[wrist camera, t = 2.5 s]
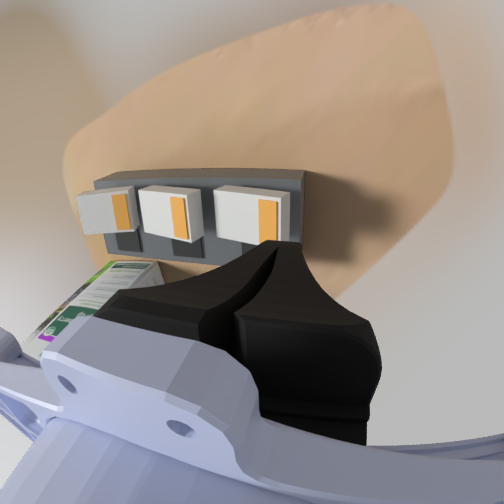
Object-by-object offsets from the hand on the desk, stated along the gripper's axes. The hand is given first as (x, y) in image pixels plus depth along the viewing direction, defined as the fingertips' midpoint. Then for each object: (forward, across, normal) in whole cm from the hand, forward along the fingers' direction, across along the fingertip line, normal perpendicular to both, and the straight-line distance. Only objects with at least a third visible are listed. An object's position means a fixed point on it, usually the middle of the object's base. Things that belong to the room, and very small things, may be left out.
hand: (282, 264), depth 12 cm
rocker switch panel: (+10, +8, +1) cm, 12 cm away
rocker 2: (+5, +8, 0) cm, 9 cm away
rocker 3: (+5, +2, 0) cm, 6 cm away
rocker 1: (+5, +12, 0) cm, 14 cm away
